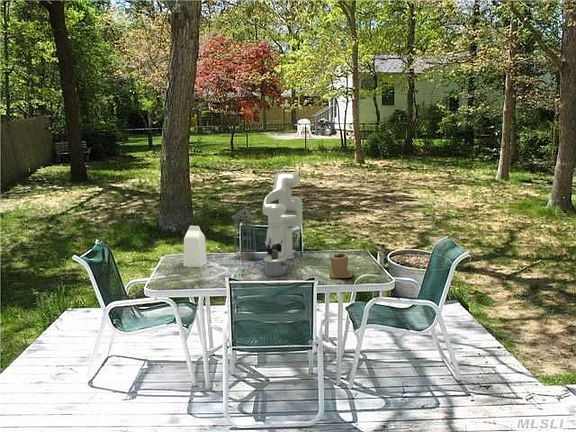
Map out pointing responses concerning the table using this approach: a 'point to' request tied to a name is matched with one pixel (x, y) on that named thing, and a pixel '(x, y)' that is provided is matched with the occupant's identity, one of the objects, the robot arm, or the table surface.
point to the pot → (275, 268)
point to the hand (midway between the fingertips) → (274, 253)
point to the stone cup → (340, 266)
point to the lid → (274, 257)
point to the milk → (194, 248)
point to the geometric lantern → (242, 232)
